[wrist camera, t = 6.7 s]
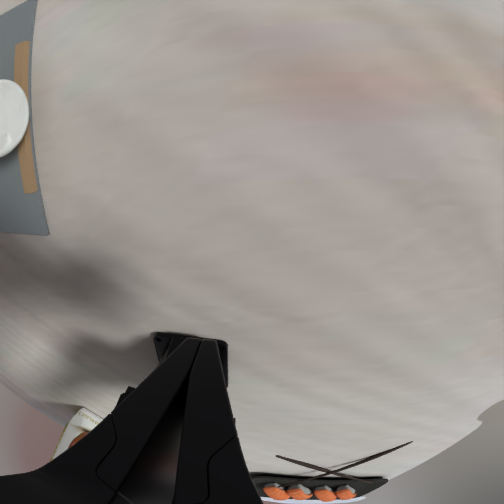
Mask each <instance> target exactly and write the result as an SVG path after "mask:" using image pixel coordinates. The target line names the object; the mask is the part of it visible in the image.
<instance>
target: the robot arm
mask: <svg viewBox="0 0 504 504" xmlns="http://www.w3.org/2000/svg"><path fill="white" fill-rule="evenodd" d="M159 338H160V339H159ZM153 339H154V344H155V348H156V352H157V356H158V360H159V364H158V367H157V368H156V369H155V370H154V371H153V372H152V373H151V374H150V375H149V376H148V377H147V378H146V379H145V380H144V381H143V382H142V383H141V384H140V385H139V386H138V387H137V388H136V389H135V388H133V387H130V386H128V388H127V390H126V392H125V393H123V394H121V395H120V398H119V400H118V402H117V405H116V407H115V409H114V410H113V411H112V412H111V414H109V415H108V416H107V417H105V418H104V419H103V420H102V421H101V422H100V423H99V424H98V425H97V426H96V427H95V428H94V429H92V430H91V431H90V432H89V433H88V434H87V435H85V436H84V437H83V438H81V439H80V440H79V441H78V442H76V443H75V444H74V445H72V446H71V447H70V448H68V449H67V450H65V451H64V452H63V453H61V454H60V455H59V456H57V457H56V458H54V459H53V460H52V461H50V462H49V463H47V464H46V465H44V466H43V467H41V468H39V469H36V470H34V471H31V472H27V473H21V474H13V475H6V476H0V504H263V502H262V500H261V498H260V496H259V494H258V491H257V489H256V487H255V485H254V483H253V481H252V478H251V476H250V473H249V471H248V468H247V466H246V463H245V460H244V456H243V453H242V450H241V446H240V442H239V438H238V434H237V430H236V426H235V418H233V414H232V409H231V405H230V401H229V396H228V392H227V387H228V344H227V343H226V342H224V341H217V340H211V339H200V338H192V337H185V336H177V335H170V334H164V333H156V334H155V335H154V338H153ZM220 346H222V347H220Z"/></svg>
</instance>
